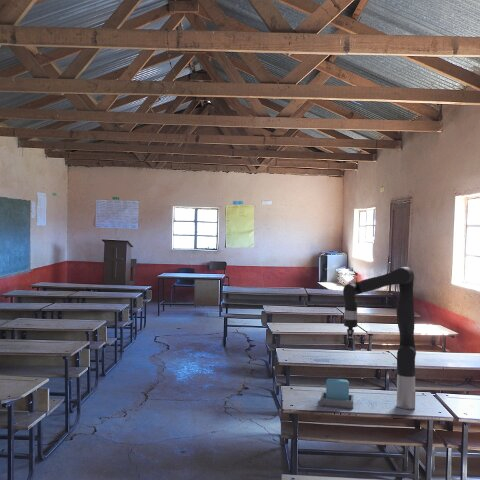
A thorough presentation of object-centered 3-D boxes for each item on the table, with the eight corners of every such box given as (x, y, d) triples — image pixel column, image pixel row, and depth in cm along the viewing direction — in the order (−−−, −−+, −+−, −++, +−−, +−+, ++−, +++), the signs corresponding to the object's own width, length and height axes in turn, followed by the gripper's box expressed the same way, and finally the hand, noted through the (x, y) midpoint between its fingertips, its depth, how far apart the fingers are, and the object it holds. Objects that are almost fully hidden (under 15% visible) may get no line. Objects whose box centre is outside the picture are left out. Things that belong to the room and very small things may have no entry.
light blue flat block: (348, 401, 273) (348, 379, 273) (348, 404, 268) (349, 382, 268) (326, 399, 275) (326, 378, 275) (325, 402, 271) (326, 380, 271)
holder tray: (353, 402, 275) (353, 394, 275) (352, 409, 264) (353, 401, 264) (322, 399, 280) (322, 392, 280) (320, 405, 268) (320, 398, 268)
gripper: (357, 320, 281) (356, 349, 281) (357, 316, 295) (356, 344, 295) (343, 319, 283) (343, 348, 283) (344, 316, 296) (343, 343, 296)
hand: (350, 346), depth 289 cm, fingers open, 8 cm apart
